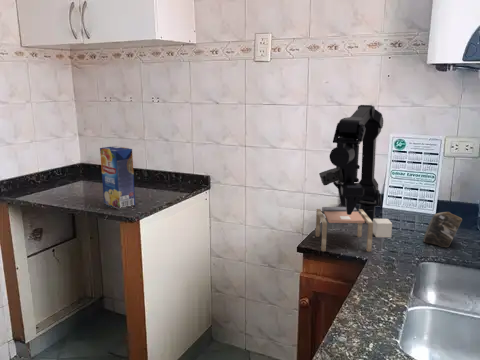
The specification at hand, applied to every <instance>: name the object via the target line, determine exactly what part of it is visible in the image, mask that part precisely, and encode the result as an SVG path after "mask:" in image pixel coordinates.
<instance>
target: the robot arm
mask: <svg viewBox="0 0 480 360" xmlns="http://www.w3.org/2000/svg"><path fill="white" fill-rule="evenodd" d="M383 126H384V118H383V114H382V113H381V112H380V111H379V110H377V109H376V108H375V106H374V105H372V104H360V105H358V106H357V109H356V110H355V111H354V112H353V113H352V114H351V115H350V116H349V117H343V118H341V119H340V120H339V122H337V124H336V128H335V131H334V135H333V139H332V143H333V144H336V147H334V148H333V149H332V150H331V151H330V154H329V160H330V163H331V164H332V165H333V166H335V167H333V168H330V169H327V170H324V171H321V172H320V173H319V174H318V175H319V177H320V181H321V183H322V186H328V185H330V184H333V185H334V186H335V187H336V188H337V191H338V196H339V201H340V207H346V210H347V214H348V215H351V213H352V212H353V210H354V208H356V206H357V205H359V207H358V210H359V209H363V211H364V212H365V213H366V214H367V216H368V217H369V218H370V219H371V220H372V222H373V219H377V218H376V216H375V215H376V207H380V206H382V196H381V195H382V194H381V191H380V190H379V182H377V180H376V178H375V166H376V148H377V138H378V136H379V135H380V133H382V129H383ZM361 143H362V146H361V147H362V150H361V151H362V152H361V153H362V154H361V166H360V165H359V155H360V154H359V153H360V152H359V151H360V145H361ZM360 168H361V175H360V177H361V179H360V180H359V177H358V173H359V172H358V170H360ZM363 219H364V218H363ZM365 223H367V222H366V221H365Z"/></svg>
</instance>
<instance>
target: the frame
mask: <svg viewBox="0 0 480 360" xmlns="http://www.w3.org/2000/svg"><path fill="white" fill-rule="evenodd" d="M324 212H347V211H322V209H321V208H317V209H316V212H315V213H316V214H315V215H316V217H315V237H318V238H320V235H321V248H320V250H321V252H326V251H327V231H328V230H327V229H328V220H327V218H326V216H325V214H323V213H324ZM353 212H359V214H360V215H361V216H362V218H364V220H365V221H366V222H365V223H366V224H367V235H366V237H367V238H366V252H368V253H370V252H372V248H373V247H372V245H373V235H374V234H373V222H372V220H371V219H370V218H369V217H368V216H367V214H366V213H365V212H364V211H363V209H359V208H358V210H357V211H353ZM362 232H363V223H357V231H356V237H357V238H362V234H363V233H362ZM320 233H321V234H320Z"/></svg>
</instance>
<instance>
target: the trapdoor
mask: <svg viewBox="0 0 480 360" xmlns="http://www.w3.org/2000/svg"><path fill="white" fill-rule="evenodd" d="M321 211H347V210H346V206H322V207H321ZM353 211H358V210H357V208H356V207H355V208H354V210H353ZM323 215H324V217H325V219H326V221H327V223H329V224H358V223H362V224H366V222H365V220H364V219H363V218H362V216H361V215H360V214H359V212H352V213H351V215H348V214H347V212H324V213H323Z"/></svg>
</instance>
